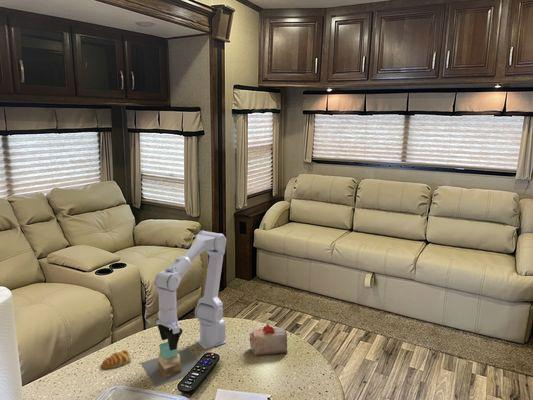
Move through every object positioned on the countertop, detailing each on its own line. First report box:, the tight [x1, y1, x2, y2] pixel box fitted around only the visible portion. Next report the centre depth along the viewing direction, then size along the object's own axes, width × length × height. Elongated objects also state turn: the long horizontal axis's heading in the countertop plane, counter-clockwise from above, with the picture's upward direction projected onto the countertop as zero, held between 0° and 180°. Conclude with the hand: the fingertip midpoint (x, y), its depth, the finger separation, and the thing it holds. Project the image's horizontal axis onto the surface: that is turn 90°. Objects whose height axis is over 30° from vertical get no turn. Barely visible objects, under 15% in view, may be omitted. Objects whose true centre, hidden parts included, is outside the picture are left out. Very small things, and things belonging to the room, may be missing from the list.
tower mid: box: [158, 352, 180, 369], centre depth 138 cm, size 6×6×3 cm
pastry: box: [101, 349, 132, 370], centre depth 143 cm, size 9×7×4 cm
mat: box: [140, 348, 200, 388], centre depth 142 cm, size 18×16×1 cm
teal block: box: [159, 341, 179, 360], centre depth 137 cm, size 4×4×4 cm
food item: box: [249, 323, 288, 357], centre depth 152 cm, size 14×8×10 cm, turn 102°
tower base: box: [158, 361, 181, 378], centre depth 139 cm, size 6×6×3 cm
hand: (168, 344), depth 137 cm, fingers open, 7 cm apart
